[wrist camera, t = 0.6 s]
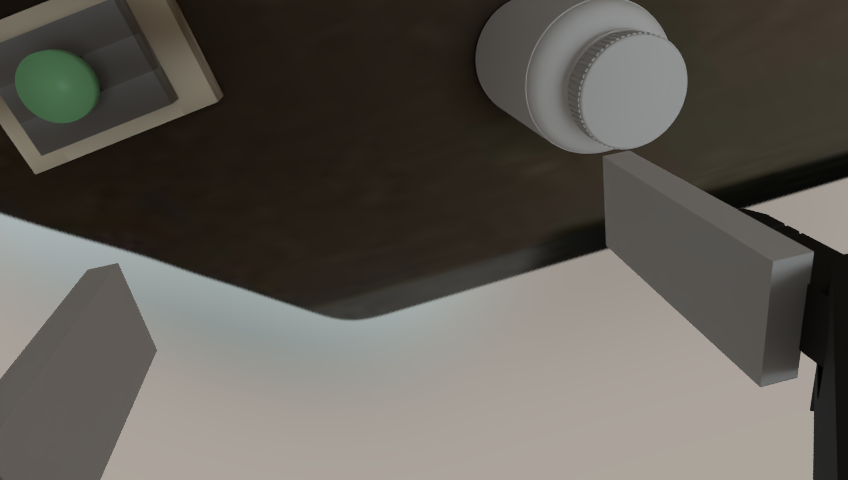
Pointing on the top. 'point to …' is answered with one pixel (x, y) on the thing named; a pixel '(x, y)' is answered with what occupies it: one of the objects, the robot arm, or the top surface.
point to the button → (57, 85)
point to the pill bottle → (582, 72)
